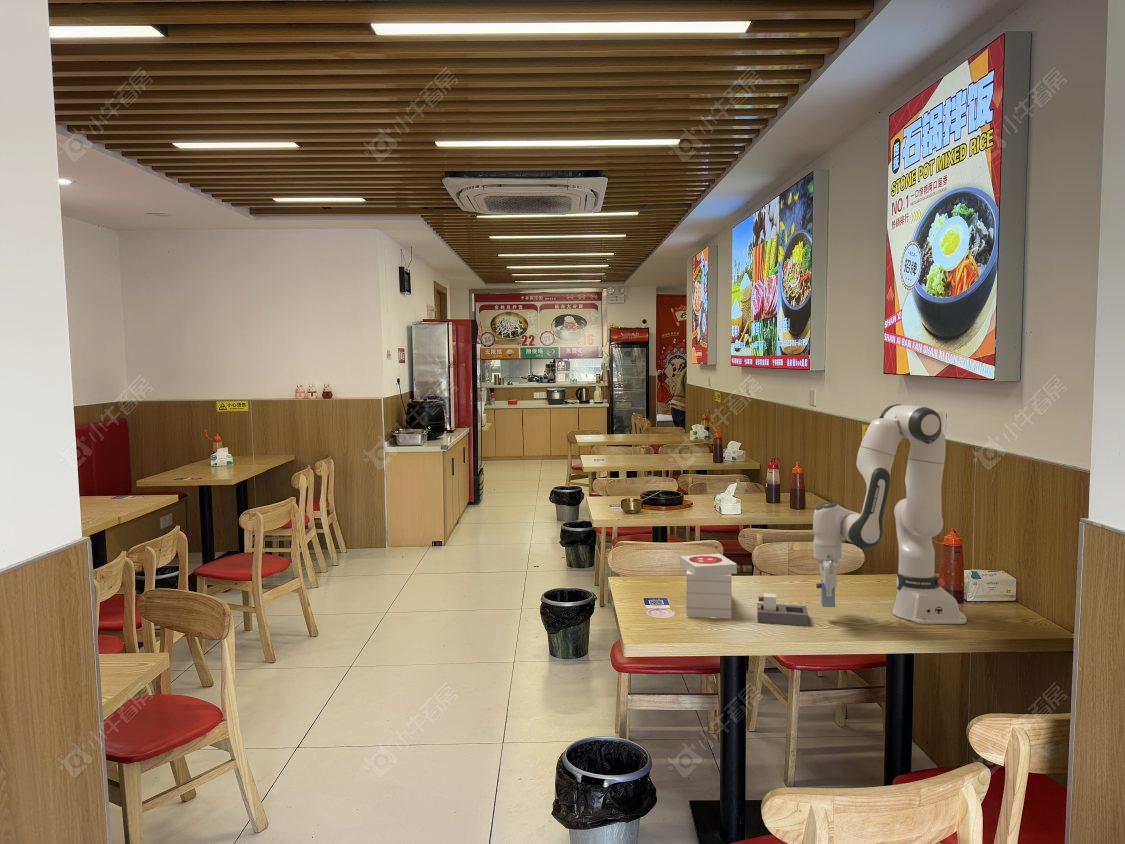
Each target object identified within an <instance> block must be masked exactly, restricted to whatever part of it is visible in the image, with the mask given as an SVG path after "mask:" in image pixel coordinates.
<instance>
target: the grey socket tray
mask: <svg viewBox="0 0 1125 844" xmlns="http://www.w3.org/2000/svg"><path fill="white" fill-rule="evenodd" d="M756 616H757V619H756V620H757V623H763V624H775V625H788V624H789V625H790V626H803V625H808V626H809V613H808V608H807V605H796V604H778V603H776V611H766V610H763V602H758V603H757V604H756ZM791 624H792V625H791ZM794 624H795V625H794Z"/></svg>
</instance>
